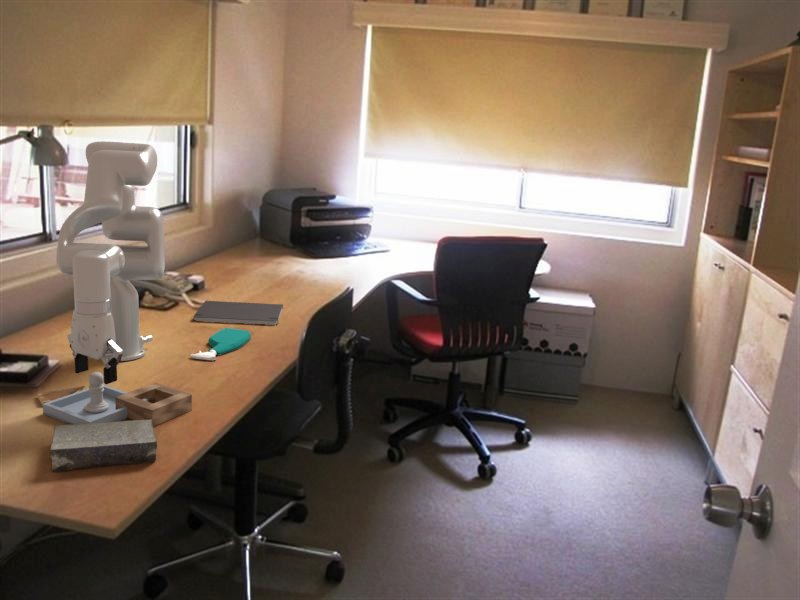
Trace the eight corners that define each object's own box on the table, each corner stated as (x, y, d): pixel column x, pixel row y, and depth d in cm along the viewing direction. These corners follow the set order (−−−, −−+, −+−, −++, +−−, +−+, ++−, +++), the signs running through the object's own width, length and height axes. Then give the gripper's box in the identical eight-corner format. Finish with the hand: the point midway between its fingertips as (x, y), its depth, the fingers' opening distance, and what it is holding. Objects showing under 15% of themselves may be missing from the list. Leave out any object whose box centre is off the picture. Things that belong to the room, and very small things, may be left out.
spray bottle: (254, 339, 227) (220, 365, 203) (221, 335, 229) (185, 360, 205) (254, 331, 226) (220, 356, 203) (221, 326, 228) (185, 350, 204)
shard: (85, 391, 178) (84, 384, 178) (92, 402, 172) (92, 395, 172) (37, 398, 172) (36, 391, 172) (43, 410, 166) (42, 403, 166)
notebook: (283, 310, 263) (205, 306, 260) (283, 304, 262) (205, 300, 260) (277, 327, 242) (192, 323, 240) (277, 320, 241) (192, 316, 239)
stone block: (157, 463, 145) (156, 440, 144) (49, 474, 138) (48, 450, 137) (153, 435, 158) (153, 414, 156) (55, 444, 150) (53, 422, 149)
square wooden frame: (155, 397, 176) (155, 382, 175) (191, 410, 171) (191, 394, 170) (115, 413, 166) (115, 397, 165) (152, 426, 161) (152, 410, 160)
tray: (102, 393, 177) (102, 383, 176) (148, 409, 169) (148, 399, 169) (43, 414, 163) (42, 403, 162) (90, 432, 156) (90, 422, 155)
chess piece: (109, 403, 170) (108, 368, 167) (108, 412, 165) (107, 376, 162) (85, 404, 168) (83, 368, 166) (83, 414, 163) (81, 377, 161)
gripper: (52, 301, 161) (57, 372, 165) (105, 318, 153) (108, 391, 158) (81, 295, 167) (84, 363, 172) (133, 310, 159) (135, 381, 164)
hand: (96, 377), depth 165 cm, fingers open, 9 cm apart
